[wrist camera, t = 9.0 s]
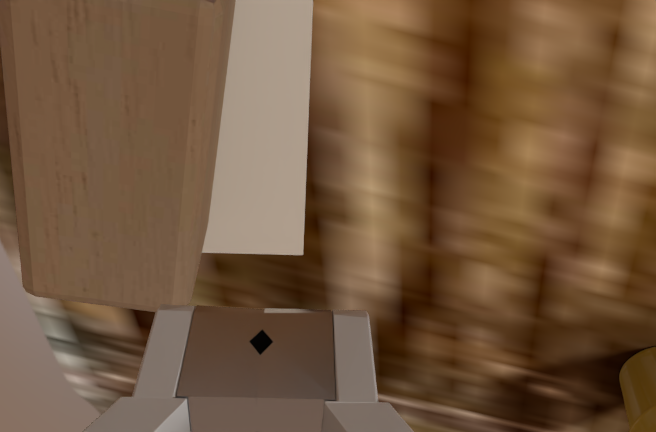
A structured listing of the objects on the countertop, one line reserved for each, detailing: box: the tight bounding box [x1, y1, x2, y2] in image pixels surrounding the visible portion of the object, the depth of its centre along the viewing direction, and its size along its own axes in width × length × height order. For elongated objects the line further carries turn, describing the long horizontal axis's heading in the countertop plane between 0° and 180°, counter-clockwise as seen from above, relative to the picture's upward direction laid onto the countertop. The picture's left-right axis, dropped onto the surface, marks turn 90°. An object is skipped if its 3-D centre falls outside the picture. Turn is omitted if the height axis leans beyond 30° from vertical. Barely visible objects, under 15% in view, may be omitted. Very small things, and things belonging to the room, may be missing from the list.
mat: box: [202, 0, 313, 255], centre depth 42 cm, size 20×16×1 cm
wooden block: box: [0, 0, 236, 312], centre depth 36 cm, size 10×10×20 cm
